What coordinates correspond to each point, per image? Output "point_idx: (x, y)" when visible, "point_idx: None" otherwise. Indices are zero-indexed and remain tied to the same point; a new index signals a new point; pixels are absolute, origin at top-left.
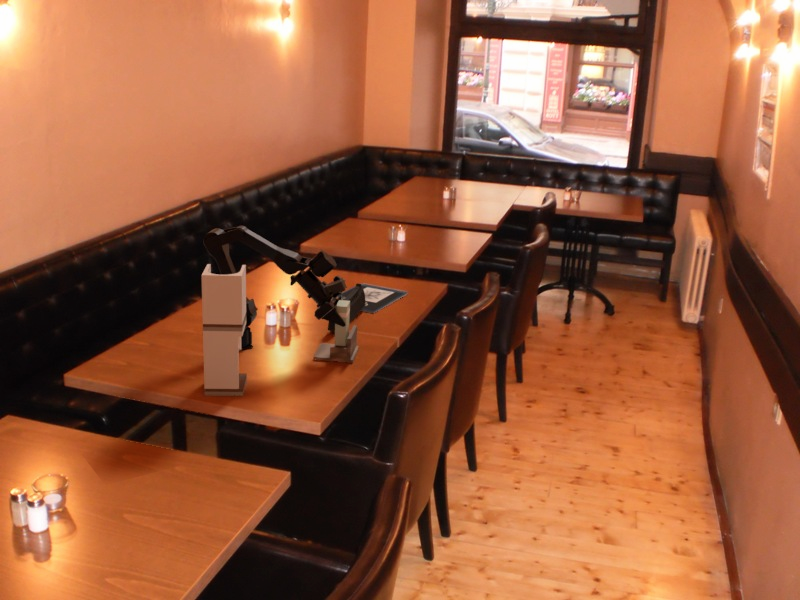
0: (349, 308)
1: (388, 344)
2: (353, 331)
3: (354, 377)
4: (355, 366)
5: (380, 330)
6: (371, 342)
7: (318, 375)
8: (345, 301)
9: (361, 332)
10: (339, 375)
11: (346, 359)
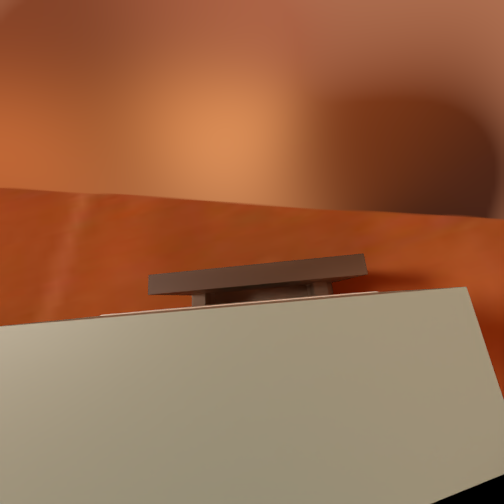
0: (141, 311)
1: (140, 201)
2: (244, 269)
3: (440, 227)
4: (348, 247)
5: (27, 250)
6: (132, 251)
7: (487, 348)
8: (33, 435)
9: (49, 303)
10: (448, 276)
11: (330, 282)
